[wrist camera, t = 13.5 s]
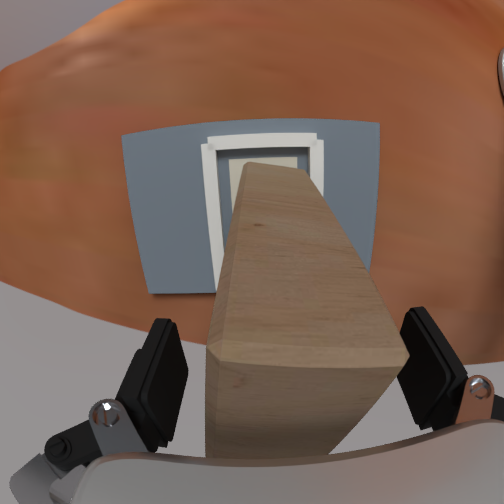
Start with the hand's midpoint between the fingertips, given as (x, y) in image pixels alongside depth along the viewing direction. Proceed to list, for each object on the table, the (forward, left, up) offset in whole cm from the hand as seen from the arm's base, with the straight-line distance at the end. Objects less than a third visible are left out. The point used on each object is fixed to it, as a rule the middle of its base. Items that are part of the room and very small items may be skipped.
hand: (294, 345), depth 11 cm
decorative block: (0, +1, -17) cm, 17 cm away
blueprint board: (+2, 0, -19) cm, 19 cm away
